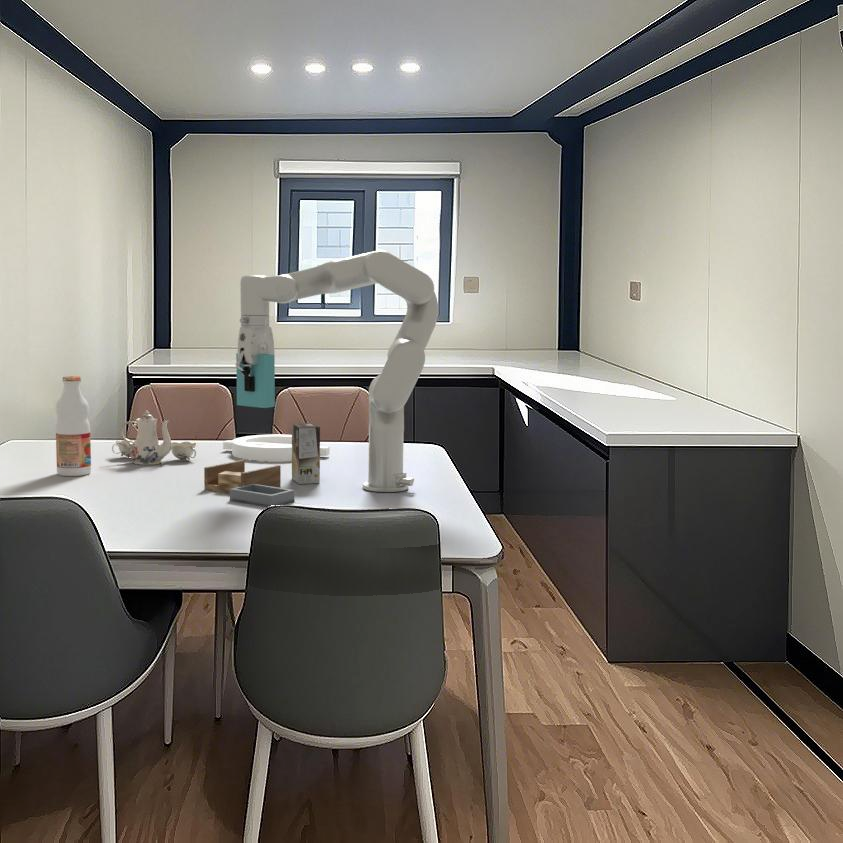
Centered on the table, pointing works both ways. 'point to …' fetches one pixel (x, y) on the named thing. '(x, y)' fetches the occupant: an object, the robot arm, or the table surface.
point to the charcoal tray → (262, 495)
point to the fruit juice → (73, 430)
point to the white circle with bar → (265, 447)
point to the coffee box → (306, 453)
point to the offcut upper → (230, 477)
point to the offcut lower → (229, 485)
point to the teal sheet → (258, 384)
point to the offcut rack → (259, 476)
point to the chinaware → (152, 443)
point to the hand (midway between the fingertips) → (255, 389)
